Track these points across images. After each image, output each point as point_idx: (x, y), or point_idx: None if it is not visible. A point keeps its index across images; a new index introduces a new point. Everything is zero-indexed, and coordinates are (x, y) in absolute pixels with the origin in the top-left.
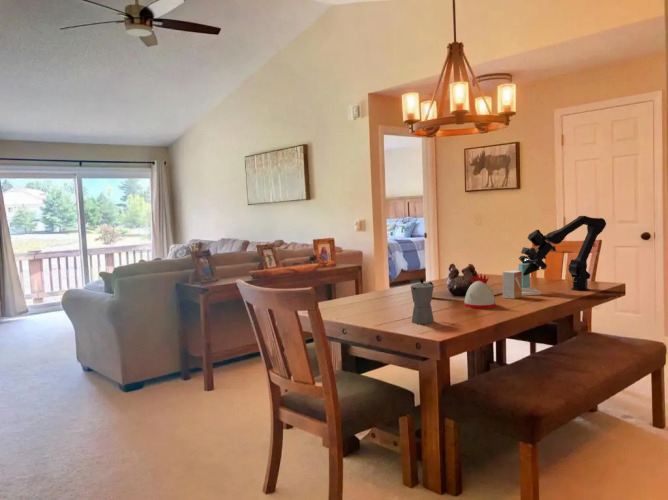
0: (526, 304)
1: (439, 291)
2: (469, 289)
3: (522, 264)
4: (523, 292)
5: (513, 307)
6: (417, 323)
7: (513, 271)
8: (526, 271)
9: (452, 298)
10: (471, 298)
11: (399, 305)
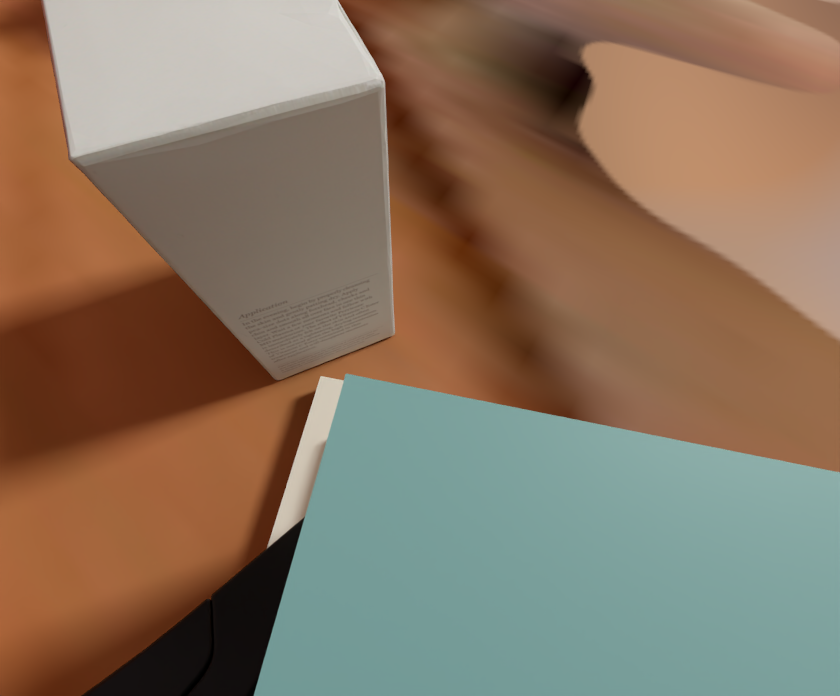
0: (3, 194)
1: (774, 60)
2: None
3: (417, 443)
4: (312, 438)
5: (19, 82)
6: None
7: (161, 2)
8: (282, 551)
9: (498, 7)
10: None
11: None
